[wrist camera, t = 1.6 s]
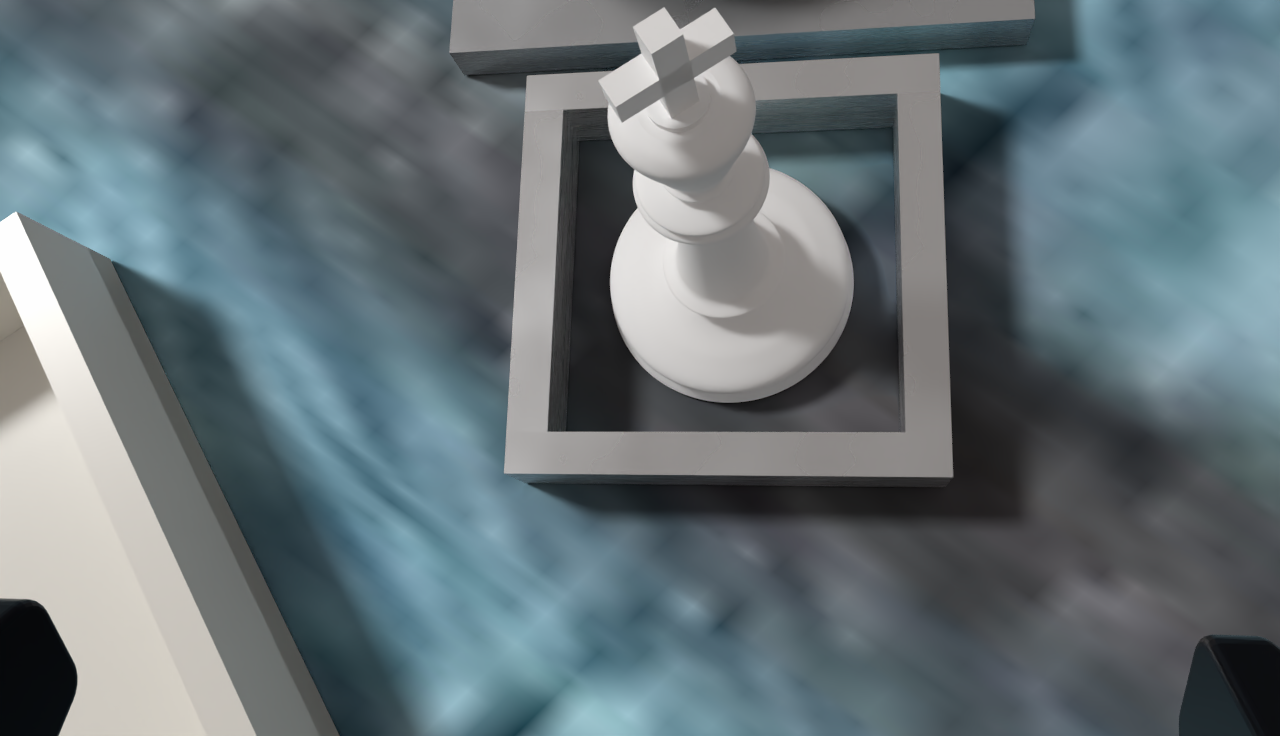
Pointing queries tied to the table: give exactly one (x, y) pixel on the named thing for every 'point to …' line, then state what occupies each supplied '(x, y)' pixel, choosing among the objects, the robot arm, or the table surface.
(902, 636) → the table surface
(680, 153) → the chess piece
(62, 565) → the tray
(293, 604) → the table surface
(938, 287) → the bracket
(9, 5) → the table surface
